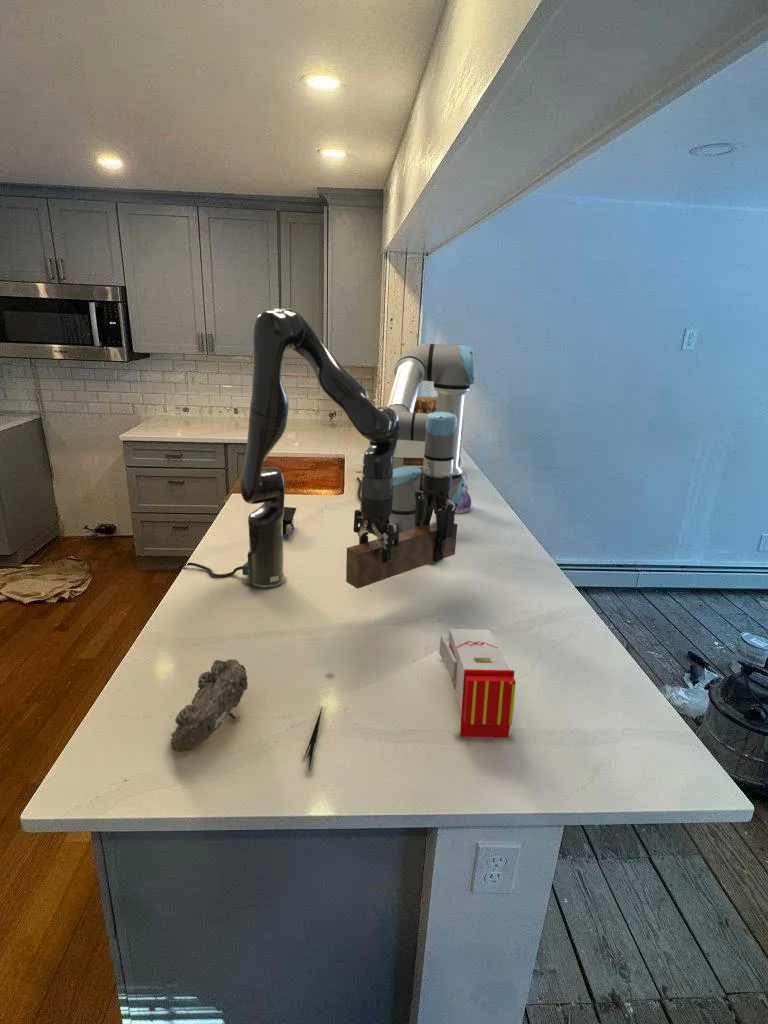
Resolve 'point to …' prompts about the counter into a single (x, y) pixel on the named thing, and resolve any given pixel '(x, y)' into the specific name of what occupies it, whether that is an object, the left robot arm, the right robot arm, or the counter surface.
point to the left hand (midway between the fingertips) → (374, 556)
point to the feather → (313, 740)
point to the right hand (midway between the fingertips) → (431, 556)
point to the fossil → (210, 704)
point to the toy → (479, 682)
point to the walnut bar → (395, 555)
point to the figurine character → (288, 520)
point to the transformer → (415, 450)
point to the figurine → (464, 500)
